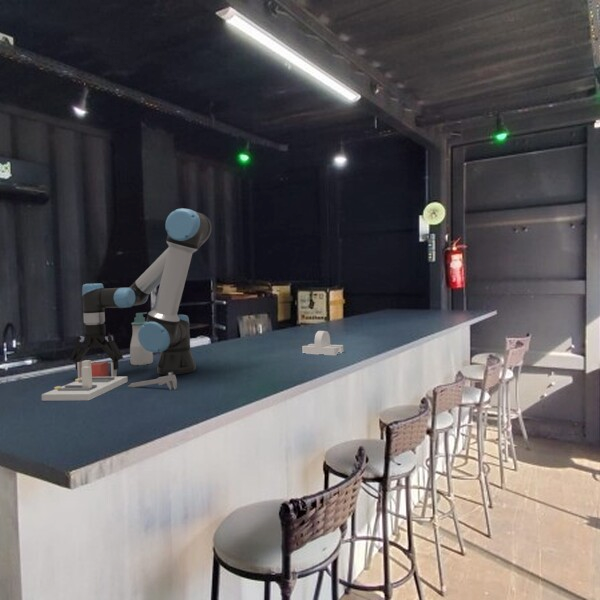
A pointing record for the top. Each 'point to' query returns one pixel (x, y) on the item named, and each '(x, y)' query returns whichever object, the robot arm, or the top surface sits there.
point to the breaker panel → (84, 389)
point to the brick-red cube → (100, 369)
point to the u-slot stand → (322, 345)
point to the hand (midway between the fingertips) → (97, 378)
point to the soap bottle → (136, 350)
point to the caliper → (159, 381)
